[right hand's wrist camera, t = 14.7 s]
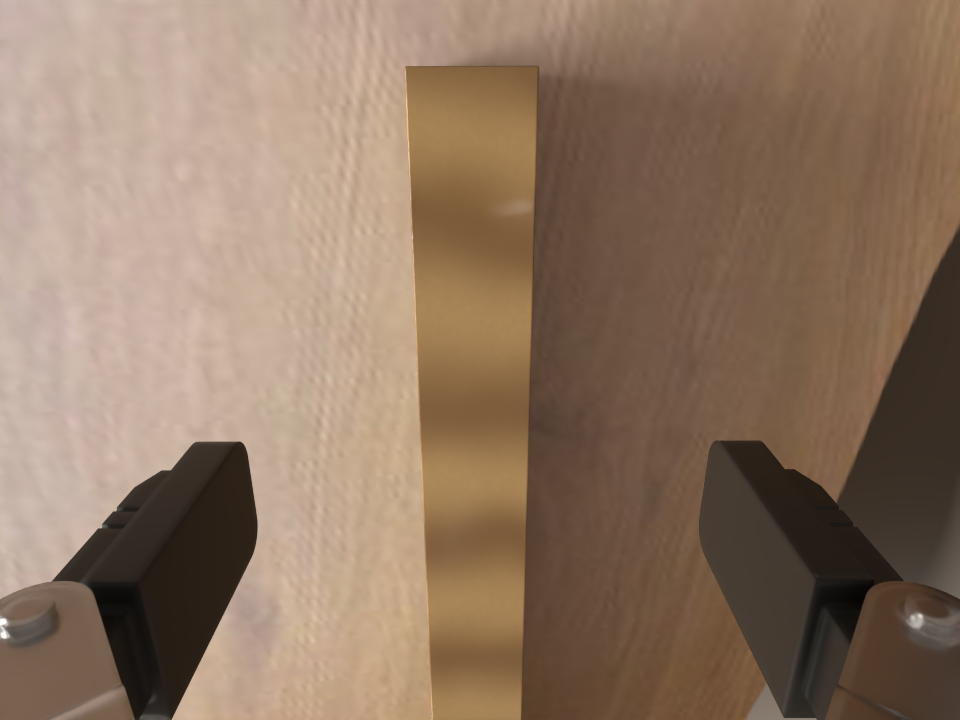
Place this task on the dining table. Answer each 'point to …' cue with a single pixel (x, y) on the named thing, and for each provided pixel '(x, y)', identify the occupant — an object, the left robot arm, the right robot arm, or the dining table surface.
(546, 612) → the dining table surface
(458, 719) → the post
